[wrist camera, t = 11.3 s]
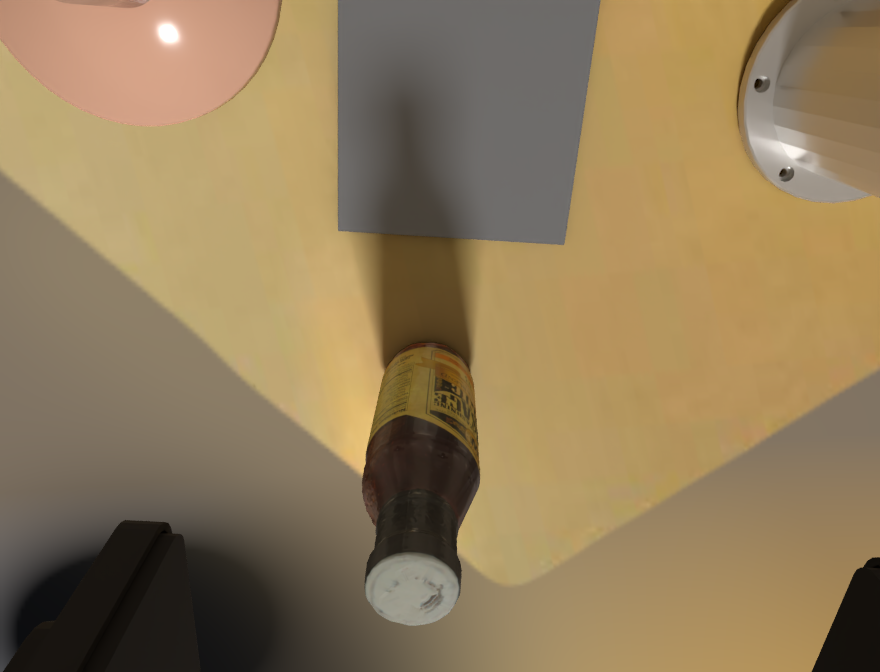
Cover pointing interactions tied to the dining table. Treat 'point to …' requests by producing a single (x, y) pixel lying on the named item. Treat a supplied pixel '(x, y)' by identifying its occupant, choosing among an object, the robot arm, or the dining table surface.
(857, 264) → the dining table surface
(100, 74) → the lid
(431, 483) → the sauce bottle
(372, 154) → the mat
